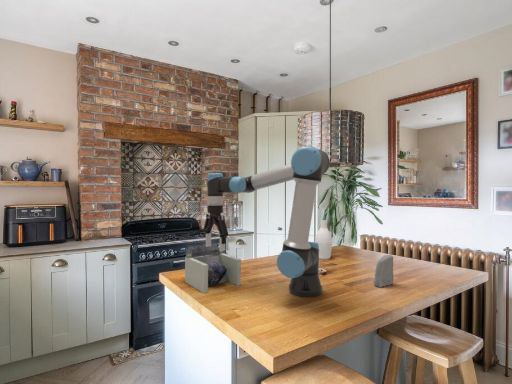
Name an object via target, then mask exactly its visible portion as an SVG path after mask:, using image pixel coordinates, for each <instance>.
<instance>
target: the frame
mask: <svg viewBox="0 0 512 384" xmlns="http://www.w3.org/2000/svg"><path fill="white" fill-rule="evenodd" d="M217 253H219V256H220V259H221V261H222V264H223V265H224V266H225V268H226V269H227V271H226V275H227V277H228V280H229V281H228V282H227V283H231V284H233V285H235V286H236V287H237V286H241V284H242V282H241V281H242V279H241V278H242V276H241V274H242V259H240V258H239V257H235V256H232V255H229V254H226V253H225V251H220V249H219V250H218V251H217ZM185 255H186V254H185ZM184 263H185V264H184V283H186V284H188V285H190V286H191V287H192V288H195V289H196V290H198V291H200V292H201V293H202V294H203V293H204V294H206V293H209V286H208V264H205V263H203V262H200V261H198V260H196V259H193V258H192V255H191V254H188V255H186V256H185V257H184Z"/></svg>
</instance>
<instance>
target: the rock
mask: <svg viewBox="0 0 512 384" xmlns="http://www.w3.org/2000/svg"><path fill="white" fill-rule="evenodd" d="M226 271H227V269H226V268H225V266H224V265H222V264H219V263H216V262H214V261H213V262H212V263H211V264H210V265H209V266H208V281H209V282H210V283H211V284H212V285H211V286H217V285H218V283H219V281H220V280H221V279H222V278H223V277H224V275H225V273H226Z"/></svg>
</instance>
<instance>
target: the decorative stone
mask: <svg viewBox="0 0 512 384" xmlns="http://www.w3.org/2000/svg"><path fill="white" fill-rule="evenodd" d="M374 271H375V273H374V279H373V286H375V287H377V288H384V287H387V286H386V285H388V286H392V285H391V284H393V285H394V277H395V276H394V256H393V255H391V254H386V255H383V256H382V257H380V258H379V260H377V263H376V267H375V270H374ZM383 286H384V287H383Z"/></svg>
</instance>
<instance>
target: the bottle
mask: <svg viewBox="0 0 512 384" xmlns="http://www.w3.org/2000/svg"><path fill="white" fill-rule="evenodd" d="M319 221H320V226H319V229H318V230H317V233H316V236H315V240H314V242H316V243H318V245H319V260H329V259H330V258H331V255H332V248H333V247H332V245H333V242H332V239H333V238H332V236H331V233H330V231H329V228H328V220H325V219H322V220H319Z"/></svg>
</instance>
